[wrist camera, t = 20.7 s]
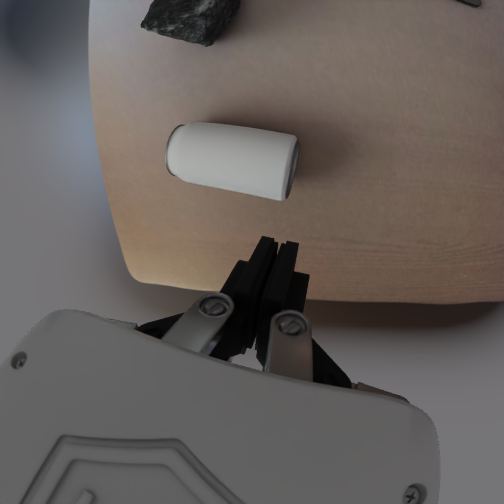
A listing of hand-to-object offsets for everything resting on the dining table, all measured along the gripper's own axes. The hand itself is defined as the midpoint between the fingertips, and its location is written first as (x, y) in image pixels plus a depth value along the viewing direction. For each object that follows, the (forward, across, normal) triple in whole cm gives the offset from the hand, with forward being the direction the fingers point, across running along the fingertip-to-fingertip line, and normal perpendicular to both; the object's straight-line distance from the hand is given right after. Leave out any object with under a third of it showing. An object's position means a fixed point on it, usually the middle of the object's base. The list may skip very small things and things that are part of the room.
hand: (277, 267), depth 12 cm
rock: (+18, +11, -17) cm, 27 cm away
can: (+15, +1, -1) cm, 15 cm away
